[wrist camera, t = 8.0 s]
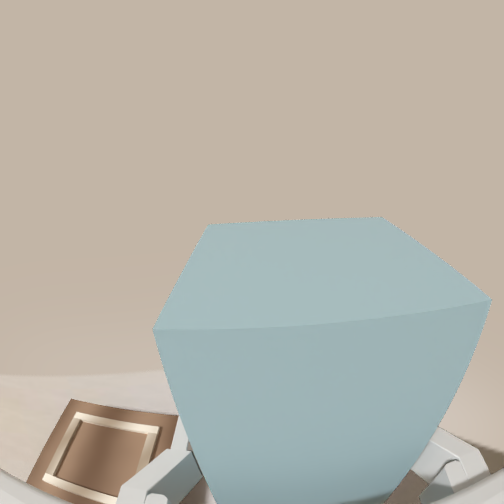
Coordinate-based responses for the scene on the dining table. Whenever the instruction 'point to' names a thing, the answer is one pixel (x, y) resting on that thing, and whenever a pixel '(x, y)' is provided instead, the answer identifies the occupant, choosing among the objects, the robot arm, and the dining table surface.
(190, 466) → the robot arm
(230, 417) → the column
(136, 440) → the plinth
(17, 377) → the dining table surface
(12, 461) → the dining table surface
